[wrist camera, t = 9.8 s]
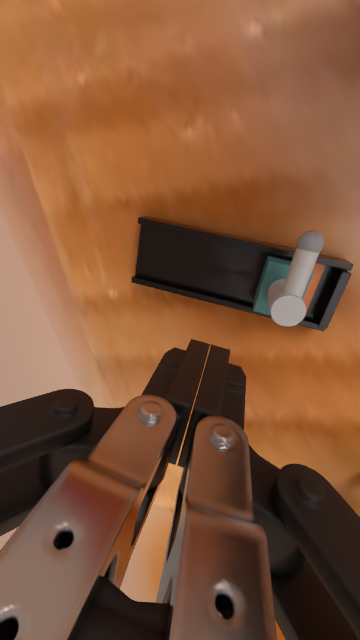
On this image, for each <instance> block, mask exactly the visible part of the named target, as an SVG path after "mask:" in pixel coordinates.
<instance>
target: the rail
mask: <svg viewBox="0 0 360 640" xmlns="http://www.w3.org/2000/svg"><path fill="white" fill-rule="evenodd" d="M138 223H139V224H141V230H140V239H139V247H138V256H137V265H136V274H135V276H133V277H132V281H131V282H133V283H137V284H141V285H145V286H148V287H152V288H156V289H160V290H164V291H168V292H172V293H176V294H180V295H184V296H188V297H191V298H195V299H199V300H203V301H207V302H211V303H215V304H219V305H223V306H227V307H231V308H235V309H238V310H242V311H246V312H250V313H254V314H258V315H262V316H266V317H270V318H272V317H271V316H270V315H266V314H262V313H259V312H255V311H253V300H254V297H255V294H256V290H257V287H258V284H259V281H260V278H261V274H262V271H263V268H264V265H265V262H266V258H267V256H272V257H277V258H281V259H286V260H290V261H292V259H293V256H294V253H295V251H296V249H294V248H289V247H284V246H280V245H275V244H271V243H266V242H262V241H257V240H253V239H248V238H243V237H239V236H234V235H230V234H225V233H221V232H216V231H211V230H207V229H202V228H198V227H193V226H189V225H184V224H179V223H175V222H170V221H166V220H161V219H157V218H152V217H148V216H144V217H139V218H138ZM352 267H353V264H351V263H350V262H349V261H347V260H344V259H339V258H335V257H330V256H326V255H321V254H319V255H318V257H317V260H316V263H315V265H314V268H313V271H314V274H313V276H312V279H311V281H310V284H309V286H308V289H307V291H306V294H305V296H304V299H303V301H304V303H305V305H306V315H305V317H304V319H303V320H302V321H301V322H300V323H298V324H297V325H301V326H305V327H309V328H313V329H317V330H321V331H324V329H325V328H326V329H327V327H328V324H329V322H330V320H331V318H332V316H333V313H334V311H335V309H336V307H337V305H338V302H339V300H340V298H341V296H342V294H343V291H344V289H345V287H346V285H347V283H348V280H349V278H350V276H351V274H350V273H349V272H348V271H347V270H349V271H351V269H352Z"/></svg>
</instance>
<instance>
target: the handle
mask: <svg viewBox="0 0 360 640" xmlns="http://www.w3.org/2000/svg"><path fill="white" fill-rule="evenodd" d="M323 246H324V240H323V237H322V236H321V235H320V234H319V233H318V232H315V231H309V232H306V233H304V234H302V235H301V236H300V237H299V239H298V241H297V248H296V251H295V253H294V256H293V259H292V261H290V260H286V259H281V258H277V257H272V256H267V258H266V262H265V265H264V268H263V271H262V274H261V278H260V281H259V284H258V287H257V290H256V294H255V297H254V300H253V311H255V312H259V313H262V314H266V315H270V316H271V317H272V319H273V321H274V322H275V323H277V324H278V325H281V326H285V327H290V326H294V325H297V324H298V323H300V322H301V321H302V320H303V319H304V317H305V315H306V305H305V303H304V301H303V299H304V296H305V294H306V291H307V289H308V286H309V284H310V281H311V279H312V276H313V274H314V271H313V268H314V265H315V263H316V260H317V257H318V255H319V253H320V252H321V250H322V249H323Z"/></svg>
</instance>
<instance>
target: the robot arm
mask: <svg viewBox="0 0 360 640" xmlns="http://www.w3.org/2000/svg"><path fill="white" fill-rule="evenodd" d="M209 345H210V344H207V343H204V342H200V341H197V340H193V339H191V341H190V343H189V345H188V348H187V350H186V351H185V350H181V349H178V348H173V349H171V350H169V351H168V352H166V353H165V354H164V356H163V358H162V359H161V362H160V363H159V365H158V367H157V369H156V370H155V372H154V374H153V375H152V377H151V379H150V381H149V383H148V384H147V386H146V388H145V390H144V391H143V393H142V395H141V396H138V397H135V398H133V399H132V400H130V401H129V402H128V404H127V405H126V406H125V407H122V408H97V407H94V404H93V400H92V399H91V397H90V396H89V395H88V394H86V393H84V392H82V391H80V390H75V389H63V390H57V391H54V392H50V393H47V394H43V395H40V396H37V397H33V398H30V399H26V400H22V401H19V402H16V403H12V404H9V405H5V406H2V407H0V536H1V535H3V534H5V533H7V532H9V531H11V530H13V529H15V528H17V527H18V526H19V527H18V529H17V530H16V531H15V533H14V534H13V535H12V536H11V537H10V539H9V540H8V541H7V542H6V544H5V545H4V546H3V548H2V549H1V550H0V640H277V635H276V624H275V620H276V622H277V624H278V625H279V627H280V629H281V631H282V633H283V635H284V637H285V639H286V640H360V517H359V516H358V515H357V514H356V513H355V511H354V510H353V509H352V508H351V507H350V506H349V505H348V503H347V502H346V501H345V500H344V499H343V498H342V497H341V496H340V494H339V493H338V492H337V491H336V490H335V489H334V488H333V486H332V485H331V484H330V483H329V482H328V481H327V480H326V479H325V478H324V477H323V476H322V475H320V474H319V473H318V472H316V471H315V470H313V469H311V468H309V467H307V466H304V465H300V464H289V465H286V466H284V467H283V468H282V469H279V468H277V467H276V466H274V465H273V464H271V463H269V462H268V461H266V460H265V459H263V458H262V457H260V456H259V455H258V454H257V453H256V452H255V451H254V450H253V449H252V448H251V446H250V445H249V443H248V438H247V436H246V434H245V432H244V412H245V391H246V389H245V387H246V376H245V374H244V372H243V370H242V368H241V367H239V366H236V365H233V364H229V363H228V361H229V355H230V350H228V349H225V348H221V347H218V346H214V345H211V348H210V352H209V355H208V359H207V362H206V366H205V369H204V373H203V376H202V380H201V383H200V387H199V390H198V394H197V397H196V401H195V404H194V407H193V411H192V415H191V418H190V422H189V426H188V429H187V433H186V437H185V440H184V444H183V447H182V451H181V455H180V458H179V462H178V466H181V467H183V468H184V469H183V473H182V477H181V481H180V484H179V488H178V491H177V495H176V501H175V506H174V512H173V518H172V523H171V529H170V534H169V540H168V546H167V551H166V557H165V563H164V568H163V573H162V577H161V582H160V586H159V590H158V594H157V600H156V603H151V602H137V601H134V600H132V599H130V598H129V597H128V596H126V595H125V594H124V593H123V592H122V591H121V590H120V586H121V583H122V581H123V578H124V575H125V572H126V569H127V566H128V563H129V560H130V557H131V555H132V552H133V550H134V547H135V545H136V542H137V540H138V538H139V535H140V533H141V530H142V528H143V525H144V523H145V521H146V518H147V516H148V513H149V511H150V509H151V506H152V504H153V501H154V499H155V497H156V494H157V492H158V489H159V486H160V483H161V481H162V480H163V478H164V476H165V473H166V470H167V467H168V463H172V464H174V465H175V464H176V461H177V458H178V454H179V451H180V447H181V444H182V440H183V437H184V434H185V430H186V427H187V423H188V420H189V417H190V413H191V410H192V406H193V403H194V399H195V396H196V393H197V389H198V386H199V382H200V378H201V375H202V371H203V367H204V364H205V360H206V357H207V353H208V349H209Z"/></svg>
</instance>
